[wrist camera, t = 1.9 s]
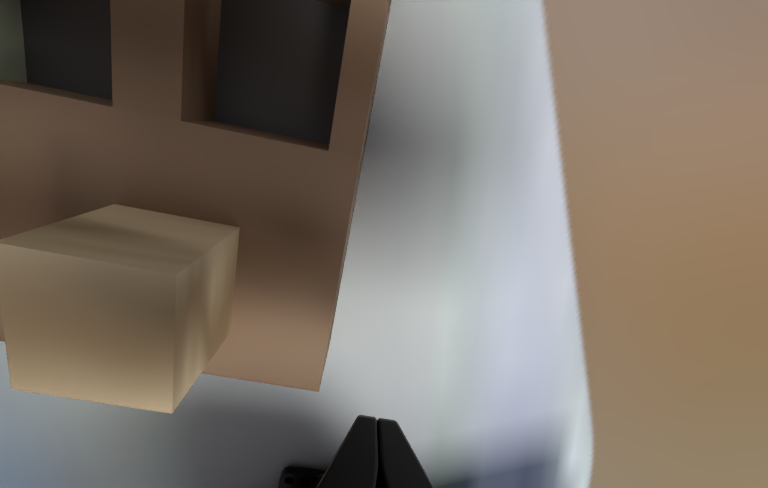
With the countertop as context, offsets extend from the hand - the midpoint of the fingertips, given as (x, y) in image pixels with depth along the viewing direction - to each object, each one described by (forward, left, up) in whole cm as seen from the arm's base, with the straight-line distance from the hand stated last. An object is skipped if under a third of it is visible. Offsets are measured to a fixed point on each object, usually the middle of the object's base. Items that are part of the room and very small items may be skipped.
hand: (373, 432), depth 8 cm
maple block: (0, +7, -6) cm, 9 cm away
